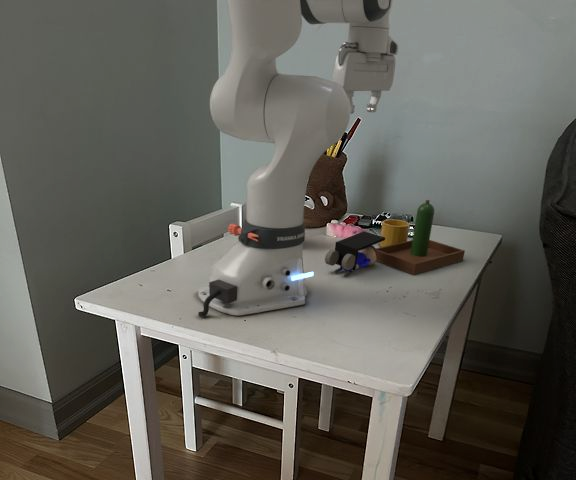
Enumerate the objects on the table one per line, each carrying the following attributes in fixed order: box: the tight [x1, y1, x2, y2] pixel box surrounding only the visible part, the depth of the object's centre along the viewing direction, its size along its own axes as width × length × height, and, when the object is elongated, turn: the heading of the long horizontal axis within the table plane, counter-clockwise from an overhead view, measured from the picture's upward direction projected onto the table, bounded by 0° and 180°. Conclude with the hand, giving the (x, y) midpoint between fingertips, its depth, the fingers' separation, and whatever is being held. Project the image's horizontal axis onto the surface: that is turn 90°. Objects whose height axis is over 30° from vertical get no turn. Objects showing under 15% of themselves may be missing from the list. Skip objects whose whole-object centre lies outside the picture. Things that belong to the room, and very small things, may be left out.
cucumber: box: [411, 199, 435, 256], centre depth 134 cm, size 4×4×13 cm
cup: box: [378, 219, 411, 247], centre depth 143 cm, size 7×7×6 cm
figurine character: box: [324, 230, 385, 277], centre depth 125 cm, size 7×8×15 cm
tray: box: [375, 239, 466, 276], centre depth 135 cm, size 19×13×3 cm
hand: (360, 112), depth 129 cm, fingers open, 8 cm apart
